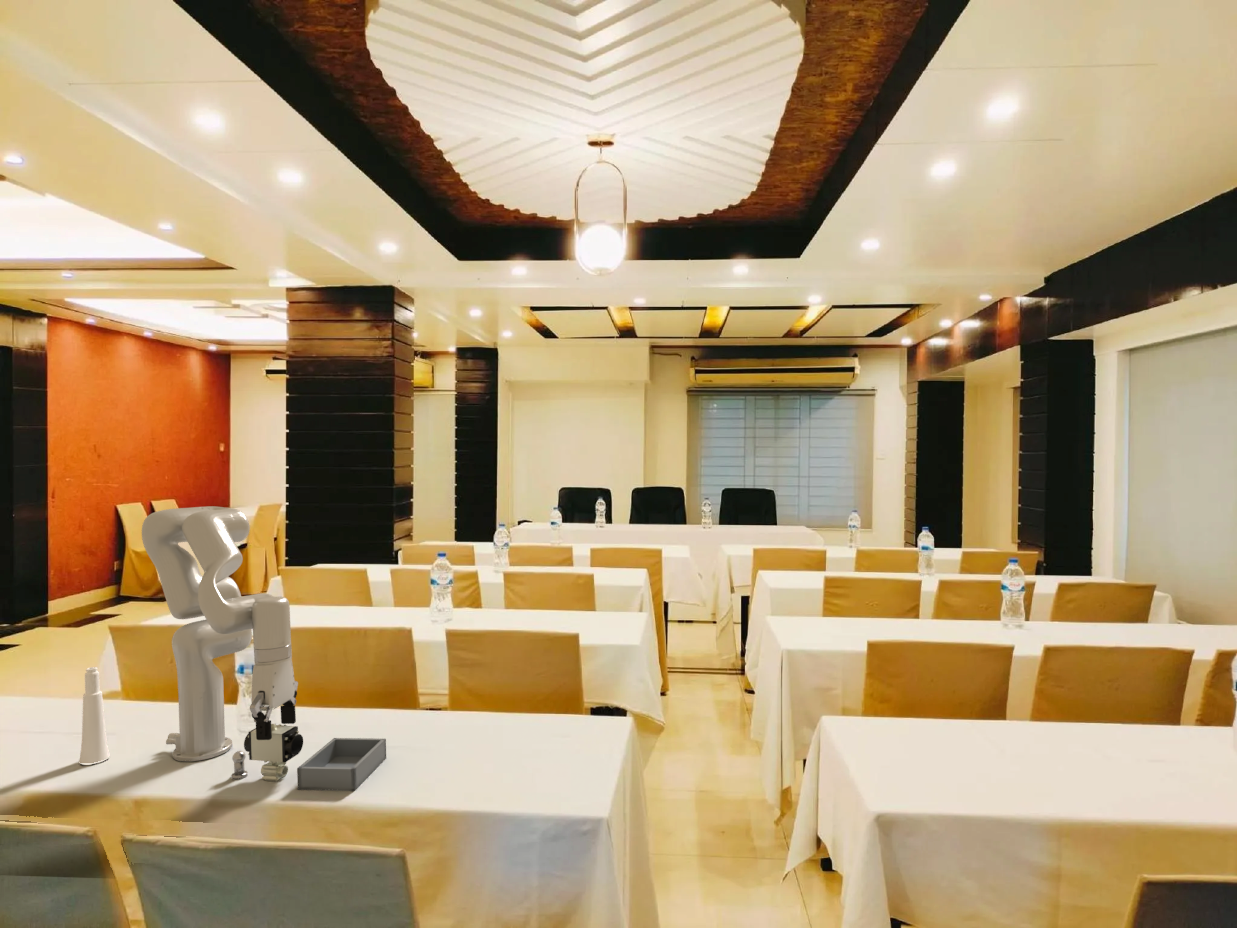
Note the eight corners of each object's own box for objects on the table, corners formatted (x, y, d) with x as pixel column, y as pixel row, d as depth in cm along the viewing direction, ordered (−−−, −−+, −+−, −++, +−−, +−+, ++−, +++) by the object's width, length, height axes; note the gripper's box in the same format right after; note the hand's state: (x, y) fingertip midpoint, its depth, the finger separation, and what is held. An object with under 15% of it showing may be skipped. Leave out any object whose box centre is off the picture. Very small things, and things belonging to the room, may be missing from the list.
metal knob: (228, 779, 162) (227, 754, 162) (237, 773, 165) (236, 748, 165) (242, 779, 162) (241, 754, 162) (250, 773, 165) (249, 748, 165)
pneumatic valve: (291, 784, 159) (289, 729, 159) (244, 780, 161) (242, 726, 161) (307, 773, 164) (305, 720, 164) (261, 769, 167) (259, 717, 166)
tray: (297, 789, 156) (297, 768, 156) (334, 757, 173) (334, 737, 173) (354, 790, 155) (354, 769, 155) (386, 758, 172) (385, 738, 172)
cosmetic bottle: (109, 761, 173) (106, 669, 172) (77, 768, 170) (74, 673, 169) (111, 753, 178) (108, 663, 178) (80, 758, 175) (77, 667, 175)
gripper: (278, 644, 171) (281, 717, 171) (233, 664, 154) (237, 746, 154) (309, 643, 170) (312, 717, 170) (267, 664, 153) (271, 745, 153)
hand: (276, 731), depth 162 cm, fingers open, 9 cm apart
